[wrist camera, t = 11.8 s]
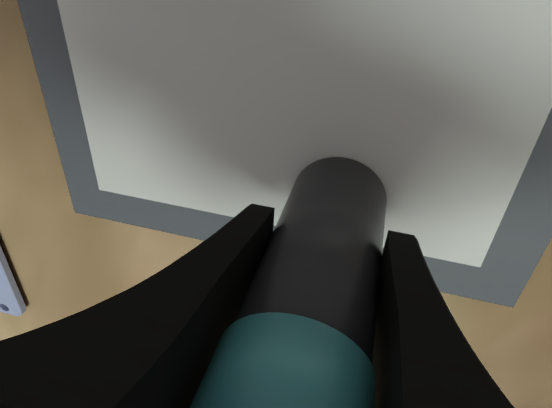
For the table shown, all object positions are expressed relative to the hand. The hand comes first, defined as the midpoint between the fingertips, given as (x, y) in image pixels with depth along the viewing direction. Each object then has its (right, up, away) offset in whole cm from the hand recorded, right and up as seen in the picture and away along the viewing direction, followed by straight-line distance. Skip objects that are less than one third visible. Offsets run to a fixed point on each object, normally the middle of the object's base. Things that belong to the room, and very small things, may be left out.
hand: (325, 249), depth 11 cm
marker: (+1, +1, +2) cm, 2 cm away
